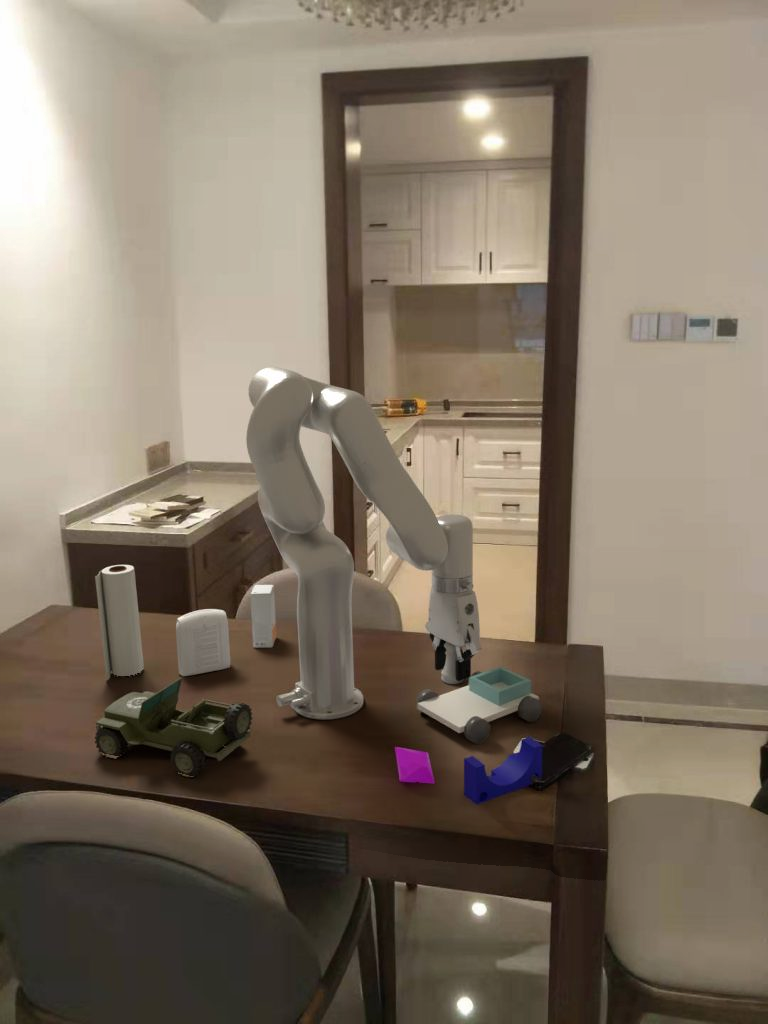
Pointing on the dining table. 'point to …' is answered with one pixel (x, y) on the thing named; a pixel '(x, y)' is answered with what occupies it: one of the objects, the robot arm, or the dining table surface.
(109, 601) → the paper towel roll
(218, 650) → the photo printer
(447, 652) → the rook chess piece
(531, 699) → the chassis
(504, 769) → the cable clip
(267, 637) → the skincare box
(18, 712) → the dining table surface
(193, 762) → the toy jeep
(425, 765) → the crystal
